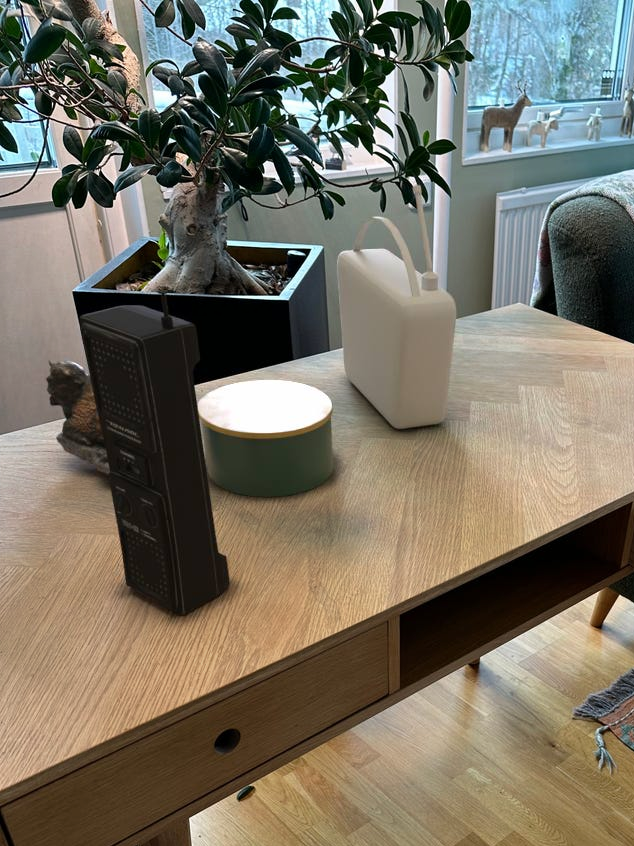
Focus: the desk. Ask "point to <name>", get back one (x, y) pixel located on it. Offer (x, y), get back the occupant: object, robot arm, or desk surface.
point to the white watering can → (396, 329)
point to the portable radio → (155, 452)
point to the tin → (267, 437)
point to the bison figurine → (77, 413)
